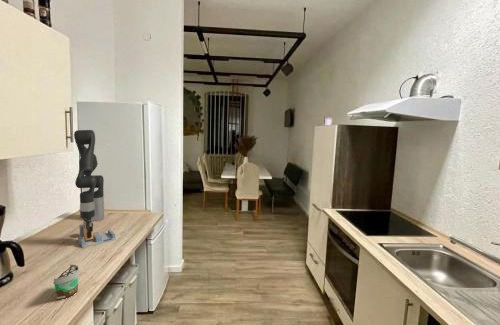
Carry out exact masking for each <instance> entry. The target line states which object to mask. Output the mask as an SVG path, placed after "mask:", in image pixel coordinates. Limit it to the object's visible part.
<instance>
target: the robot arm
mask: <svg viewBox="0 0 500 325" xmlns="http://www.w3.org/2000/svg"><path fill="white" fill-rule="evenodd" d="M73 133H74V134H73V136H74V141H75V144H76V147H77V150H78V153H79V157H80V158H79V161H78V164H79V165H78V166H79V168H78V173H77V176H76V179H75V182H74V183H75V187H76V188H78V189H88V188H89V189H88V190H85V191H81V192H80V194H79V214H80V215H79V217H80V218H81V219H82V221H83V225H84V227H85V228H86V229H87V238H91V237H92V231H93V232H94V229H93V228H94V224H93V222H98V221H102V220H105V200H104V199H105V196H104V195H105V194H104V182H105V181H104V180H105V179H104V177H103V175H93V174H92V173H93V172H94V171H95V170H96V168H97V167H98V164H99V163H98V159H97V156H96V154H95V153H94V152H95V145H96V134H95V131H94V130H93V129H80V130H79V129H78V130H75V131H74V132H73ZM86 145H88V146H86ZM95 189H97V190H95ZM87 226H88V227H87ZM89 229H90V230H89Z"/></svg>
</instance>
